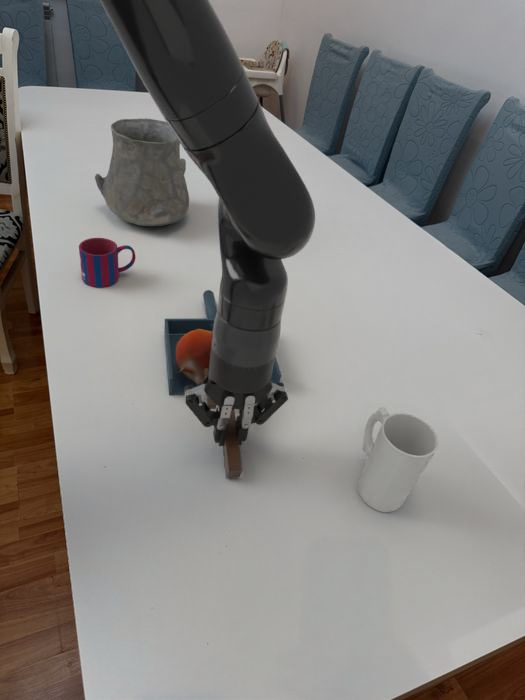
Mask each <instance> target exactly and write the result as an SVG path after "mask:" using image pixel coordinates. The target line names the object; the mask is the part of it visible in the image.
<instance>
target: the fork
mask: <svg viewBox="0 0 525 700" xmlns="http://www.w3.org/2000/svg"><path fill="white" fill-rule="evenodd" d="M208 372H209V370H208V368H204V377H206V376H207V375H208ZM205 396H206V403H207V405H208V406H209V407H210V409H211V410H216V404H215V403H214V401H213V400H212V399H211V398H210V397H209V396H208V395H207V394H206V395H205ZM235 411H236V409H234V410H231V414H230V418H229V419H228V421H227V426H226V427H227V433H226V438H225V441H224V446H222V452H223V461H224V470H225V478H226V479H237V478H238V479H239V478H241V476H242V473H243V462H242V455H241V448H240V445H239V440H238V436H237V429H236V418H237V417H236V412H235Z"/></svg>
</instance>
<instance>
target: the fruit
mask: <svg viewBox="0 0 525 700" xmlns="http://www.w3.org/2000/svg"><path fill="white" fill-rule="evenodd" d="M211 334H212V332H211V331H207V330H203V329H196V330H193V331H190V332H188V333H187V334H185V335H184V336H183V337H182V338H181V339H180V341H179V342H178V343H177V346H176V360H177V364H178V366H179V368H180V369H181V370H180V371H179V372H181V371H182V372H183V373H184V375H185V376H186V377H188V378H189V379H191V380H193V381H194V382H195V383H197V385H199V384H202V383H203V381H204V379H205V377H204V368H208V370H209V364H210V354H211V344H212V337H211ZM179 372H178V373H179Z"/></svg>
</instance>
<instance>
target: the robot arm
mask: <svg viewBox="0 0 525 700" xmlns="http://www.w3.org/2000/svg"><path fill="white" fill-rule="evenodd" d="M99 2H100V4H101V6H102V7H103V9H104V11H105V13H106V15H107V17H108V19H109V21H110V23H111V25H112V27H113V28H114V31H115V33H116V35H117V37H118V39H119V40H120V42H121V45H122V46H123V48H124V51H125V52H126V54H127V56H128V58H129V60H130V62H131V64H132V65H133V67H134V69H135V71H136V72H137V75H138V76H139V78H140V80H141V81H142V84H143V85H144V87H145V89H146V90H147V92H148V94H149V96H150V97H151V99H152V101H153V102H154V104H155V106H156V108H157V109H158V111H159V112H160V114H161V115H162V117H163V119H164V120H165V122H167V123H168V125H169V126H170V128H171V129H172V131H173V133H174V134H175V136H176V137H177V139H178V140H179V142H180V146H182V148H183V150H184V152H185V153H186V154H187V156H188V157H189V158H190V159H191V161H192V162H193V163H194V165H195V166H196V167H197V168H198V169H199V170H200V171H201V172H202V174H203V175H204V176H205V177H206V179H207V180H208V181H209V183H210V184H211V186H212V188H213V189H214V191H215V193H216V194H217V197H218V204H217V224H218V226H217V227H218V241H219V251H220V252H219V254H220V262H221V277H220V283H219V290H218V293H219V294H218V299H217V313H216V316H215V320H214V326H213V330H212V334H211V337H212V344H211V354H210V364H209V372H208V375H207V376H206V377H205V379H204V381H203V384H202V385H199V386H197V387H195V388H194V386H192V385H187V386H185V388H184V391H185V394H184V400H185V405H186V406H187V407H188V408H189V410H190V411H191V412H192V413H193V415H194V416H195V417H196V418H197V419H198V421H199V422H200V423H201V425H202V426H203V427H204V428H210V427H213V431H212V433H213V440H214V443H215V444H218V447H223V446H224V441H225V438H226V433H227V427H226V426H227V421H228V419H229V418H230V414H231V410H238V415H237V416H236V417H235V418H236V429H237V436H238V440H239V446H242V444H243V442H246V441H247V439H248V434H249V429H250V428H251V426H252V425H253V424H256V425H258V426H261V425H263V424H264V423H266V422H267V421H268V420H269V419H270V418H271V417H272V416H273V415H274V414H275V413H276V412H277V411H278V410H279V409H280V408H281V407H282V406H284V405H285V403H286V402H287V401H289V395H288V392H287V389H286V387H285V384H284V382H281V381H280V382H279V383H277V384H274V383H272V382H271V375H272V371H273V366H274V361H275V357H276V356H277V351H278V347H279V343H280V338H281V331H282V330H281V329H282V317H283V312H284V308H285V303H286V302H285V301H286V298H287V293H288V286H289V285H288V284H289V276H288V272H287V270H286V268H285V265H284V263H283V261H282V260H285V259H290V258H291V257H294V256H295V255H297V254H298V253H299V252H301V251H302V250H303V249H304V248H305V247H306V246H307V245H308V243H309V242H310V240H311V239H312V236H313V234H314V230H315V225H316V224H315V223H316V211H315V206H314V202H313V199H312V197H311V194H310V192H309V190H308V188H307V186H306V184H305V183H304V181H303V179H302V176H301V175H300V174H299V172H298V171H297V169H296V167H295V165H294V163H293V162H292V160H291V159H290V157H289V155H288V153H287V152H286V151H285V149H284V147H283V146H282V145H281V143H280V141H279V140H278V138H277V137H276V135H275V134H274V132H273V130H272V129H271V126H270V124H269V122H268V120H267V118H266V116H265V113H264V110H263V107H262V104H261V102H260V100H259V99H258V96H257V93H256V91H255V90H254V87H253V85H252V83H251V81H250V78H249V76H248V75H247V72H246V70H245V68H244V65H243V63H242V61H241V59H240V57H239V56H238V53H237V51H236V49H235V47H234V44H233V42H232V41H231V39H230V37H229V35H228V33H227V31H226V29H225V27H224V25H223V24H222V22H221V20H220V18H219V16H218V15H217V13H216V10H215V9H214V7H213V6H212V4H211V2H210V0H99ZM276 358H277V357H276ZM206 394H207V395H208V396H209V397H210V398H211V399H212V400H213V401H214V403H215V404H216V409H214V410H212V409H210V407H209V406H208V405H207V401H206V399H205V396H206Z"/></svg>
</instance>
